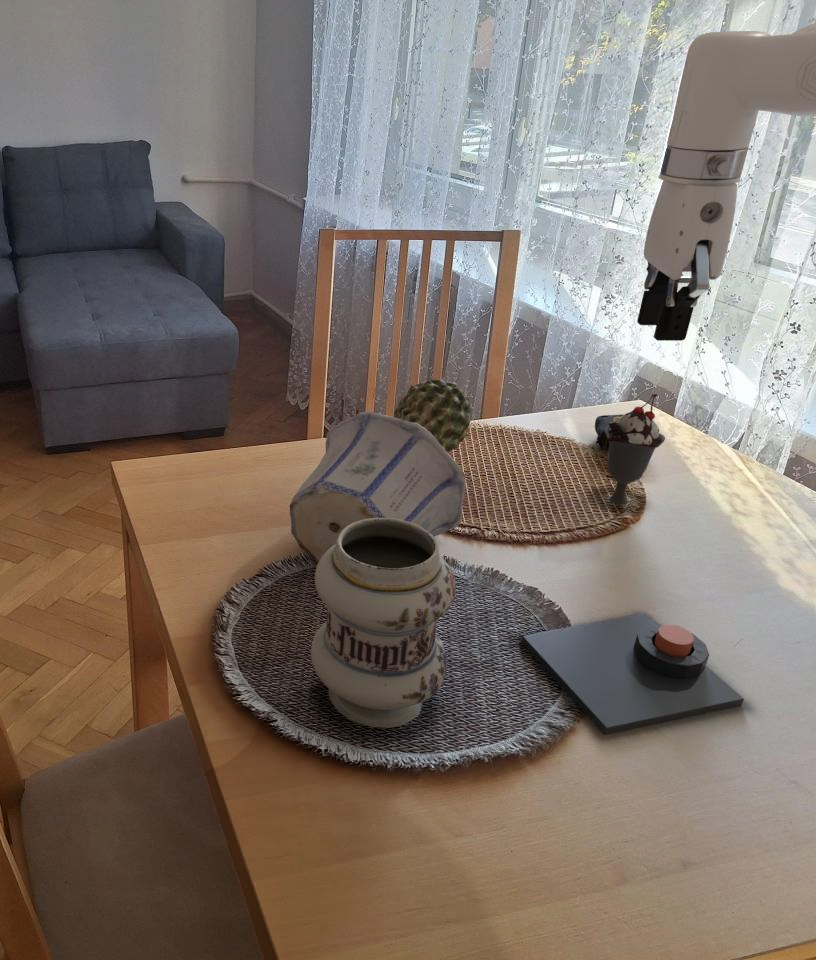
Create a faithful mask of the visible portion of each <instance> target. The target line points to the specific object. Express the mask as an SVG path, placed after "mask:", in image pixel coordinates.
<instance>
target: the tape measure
mask: <svg viewBox="0 0 816 960" xmlns="http://www.w3.org/2000/svg"><path fill="white" fill-rule="evenodd" d="M623 415H624V414H607V415H606V414H605V415H598V416H597V417H596V418H595V420H594V429H595V430H594V431H595V434H597V436H596V442H595V443H596V444H597V445H598V447H599V448H600V449H602V450H609V439H608V438H607V436H606V434H605V428H606V427H607V426H609V422H618V421H619V419H620V418H621V417H622V416H623Z"/></svg>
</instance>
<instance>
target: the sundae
mask: <svg viewBox="0 0 816 960" xmlns="http://www.w3.org/2000/svg"><path fill="white" fill-rule="evenodd" d="M657 397H658V394H656V393H652V394H651V397H650V398H649V400H648V401H647V402H646V403H645V404H643V405H642V406H635V407H634V408H633V410H631V411H629V412H626V413H623V414H622V415H623V416H622V417H621V418H620V419H619V421H618V422H609V426H607V427H606V428H605V434H606V436H607V438H608V439H609V449H608V455H607V472H608V473H609V475H610V476H611V478H612V479H614V480H615V481H616V486H615V490H614V492H613V493H612V494H611V495H610V496H608V500H609V502H611V503H613V504H616V505H627V504H628V502H629V500H628V499H627V497H626V490H627V487H628V484H631V483H634V482H636V481H638V480H640V479H641V478H642V477H643V475H644V473H645V472H646V470H647V467H648V465H649V463H650V461H651V459H652V457H653V454H654V452H655V450H656V449H657V448H660V446H662V444H664V442H665V440H666V437H665V435H663V434H662V433H660V429H659V426H658V424H657V423H656V422H655V420H654V419H655V418H656V414H655V413H654V412H653V406H654V401H655V398H657ZM651 400H652V401H651ZM650 402H651V405H650V410H646V411H645V410H644V407H646V406H647V405H648V404H649V403H650Z"/></svg>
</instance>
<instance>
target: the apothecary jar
mask: <svg viewBox="0 0 816 960" xmlns="http://www.w3.org/2000/svg"><path fill="white" fill-rule="evenodd" d="M314 584H315V589H316V592H317V594H318V596H319V598H320V600H321V601H322V602H323V603H324V605H325V606H326V607H327V608H326V621H325V622H324V623H322V625H321V626H320V627H319V628H318V629H317V630H316V632H315V634H314V636H313V638H312V642H311V647H310V658H311V663H312V666H313V669H314V671H315V673H316V675H317V677H318V679H319V680H320V681H321V683H322V684H324V686H326V687H327V693H328V697H329V699H330V702H331V703H332V705H333V706H334V707H335V709H336V710H337V711H338V712H339V713H340V714H341V715H343V716H344V717H345V718H347V719H349V720H350V721H353V722H355V723H358V724H359V725H360V724H361V725H364V726H367V727H371V728H387V729H388V728H389V729H390V728H398V727H401V726H403V725H405V724H407V723H409V722H411V721H413V720H414V719H415V718H417V717H418V716H419V715H420V713H421V711H422V706H423V702H425V701H427V700H428V699H430V698H431V697H432V696H433V695H435V694H436V693H437V692H438V690H439V689H440V688H441V686H442V685H443V683H444V681H445V679H446V676H447V671H448V656H447V651H446V648H445V646H444V644H443V642H442V640H441V638H440V637H439V636H438V634H437V624H438V623H437V622H438V620H439V619H440V618H441V617H442V616H443V615H445V614H446V612H448V610H449V609H450V608H451V606H452V605H453V602H454V601H455V597H456V592H457V584H456V579H455V575H454V573H453V570H452V569H451V567H450V565H449V564H448V561H446V560H445V558H443V557H442V556H441V554H440V545H439V543H438V541H437V539H436V537H433V535H431V534H430V533H429V532H428V531H426V530H425V529H423V528H422V527H420V526H418V525H415V524H413V523H410V522H407V521H404V520H400V519H393V518H370V519H364V520H360V521H357V522H354V523H352V524H350V525H348V526H347V527H346V528H344V529H343V530H342V531H341V533H340V534H339V536H338V538H337V541H336V544H335V545H334V546H332V547H331V548H330V549H329V550H327V551H326V552H325V554H324V555H323V556H322V557H321V559H320V561H319V562H318V563H317V565H316V568H315V572H314Z"/></svg>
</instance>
